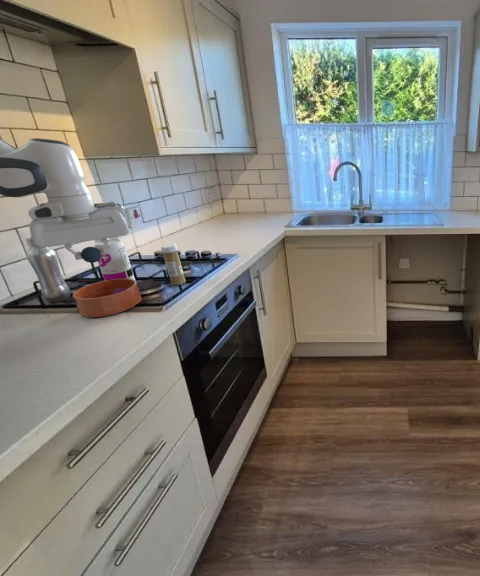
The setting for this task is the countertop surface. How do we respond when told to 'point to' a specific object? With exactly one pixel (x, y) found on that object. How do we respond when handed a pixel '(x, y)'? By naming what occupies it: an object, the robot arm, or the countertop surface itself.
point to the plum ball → (118, 290)
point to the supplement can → (115, 261)
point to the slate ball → (91, 254)
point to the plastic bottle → (47, 272)
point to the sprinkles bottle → (173, 264)
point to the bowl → (107, 297)
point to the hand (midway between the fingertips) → (91, 256)
